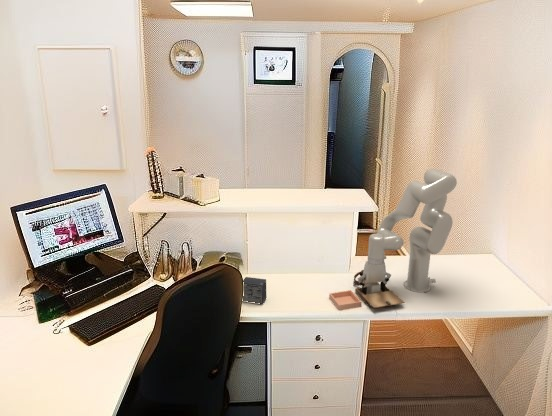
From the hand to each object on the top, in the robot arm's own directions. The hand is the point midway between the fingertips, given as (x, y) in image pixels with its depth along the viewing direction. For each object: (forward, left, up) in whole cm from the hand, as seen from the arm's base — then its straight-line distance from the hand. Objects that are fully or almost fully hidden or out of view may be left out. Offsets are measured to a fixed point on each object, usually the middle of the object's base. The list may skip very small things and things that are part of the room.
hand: (373, 292), depth 205 cm
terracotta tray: (+16, +2, -2) cm, 16 cm away
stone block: (0, 0, -1) cm, 1 cm away
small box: (+56, -13, -2) cm, 57 cm away
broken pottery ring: (-1, -12, -2) cm, 12 cm away
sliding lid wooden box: (0, +5, -2) cm, 6 cm away
